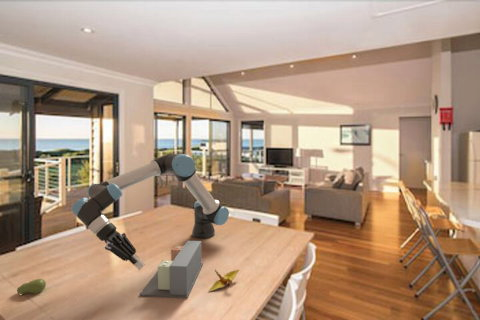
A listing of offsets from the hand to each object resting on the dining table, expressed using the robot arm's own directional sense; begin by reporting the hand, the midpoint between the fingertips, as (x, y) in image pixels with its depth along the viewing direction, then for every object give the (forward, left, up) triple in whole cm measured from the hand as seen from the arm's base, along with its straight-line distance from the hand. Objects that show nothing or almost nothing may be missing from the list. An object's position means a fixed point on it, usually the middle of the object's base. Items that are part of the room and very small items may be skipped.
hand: (142, 267), depth 110 cm
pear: (-29, -35, -10) cm, 46 cm away
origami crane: (+22, +27, -9) cm, 36 cm away
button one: (-3, +19, -8) cm, 21 cm away
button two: (+7, +7, -8) cm, 13 cm away
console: (+3, +14, -9) cm, 17 cm away
